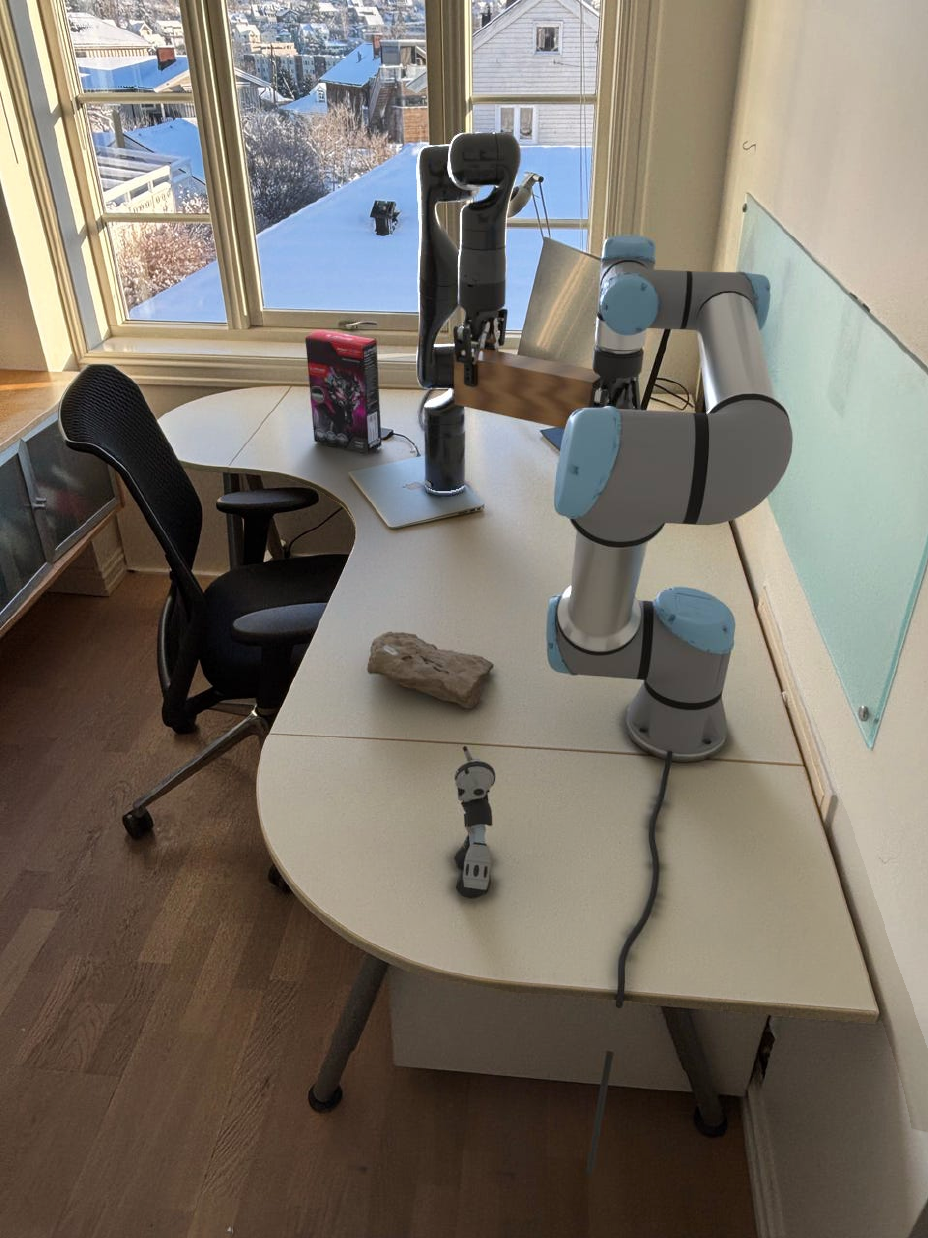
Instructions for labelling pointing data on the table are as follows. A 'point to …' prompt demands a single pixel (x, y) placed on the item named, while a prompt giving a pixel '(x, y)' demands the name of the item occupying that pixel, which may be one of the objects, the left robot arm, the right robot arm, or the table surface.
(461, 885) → the robot
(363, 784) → the table surface
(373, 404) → the graphics card box
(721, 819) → the table surface
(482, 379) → the box
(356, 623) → the table surface
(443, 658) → the stone
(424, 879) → the table surface
